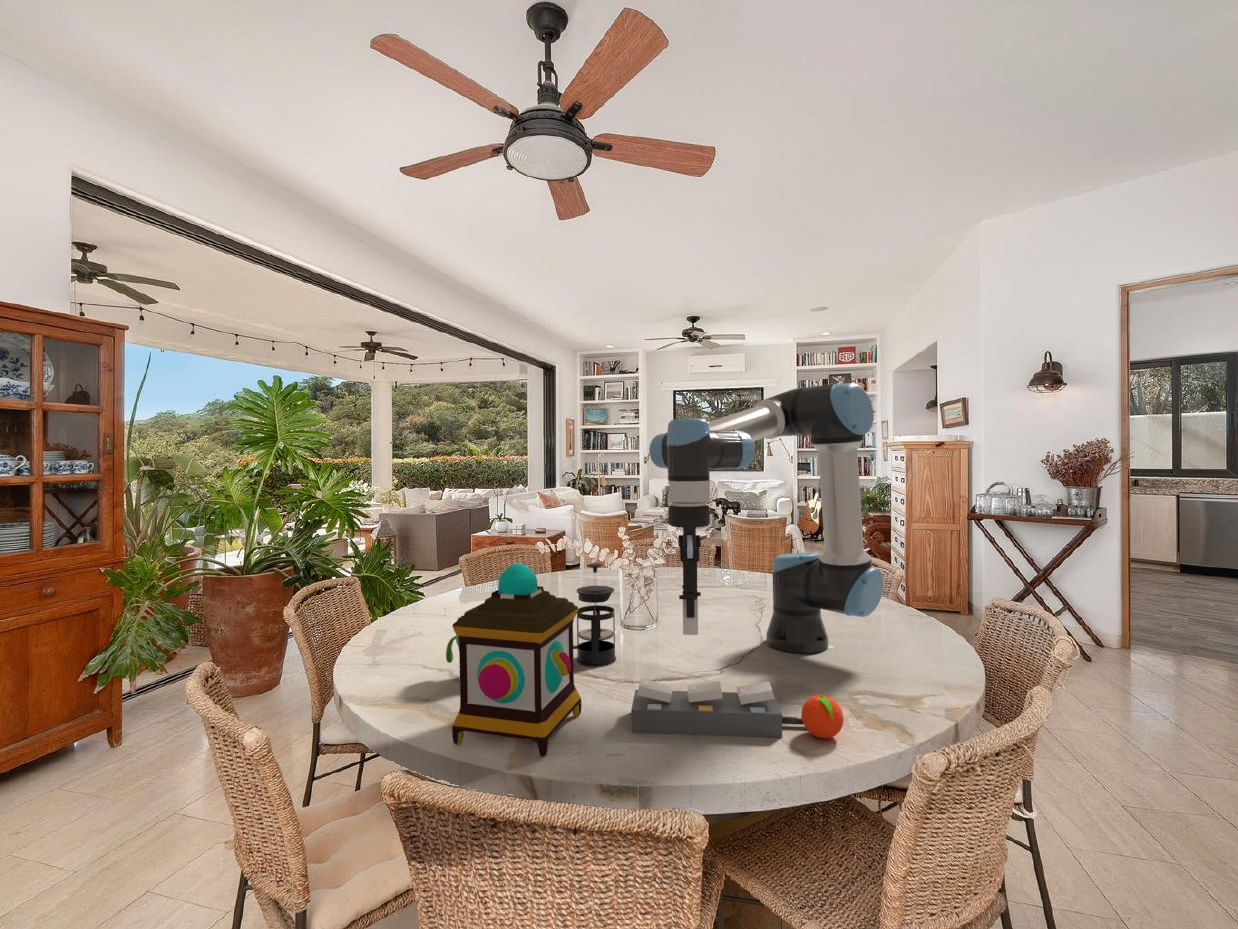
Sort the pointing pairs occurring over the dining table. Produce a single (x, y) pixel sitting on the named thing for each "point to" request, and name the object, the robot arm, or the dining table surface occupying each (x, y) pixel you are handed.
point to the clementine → (822, 716)
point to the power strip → (709, 716)
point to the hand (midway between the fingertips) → (690, 633)
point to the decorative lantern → (516, 662)
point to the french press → (595, 625)
